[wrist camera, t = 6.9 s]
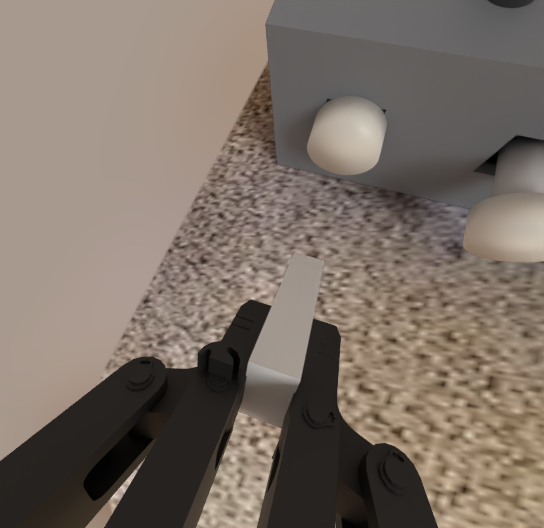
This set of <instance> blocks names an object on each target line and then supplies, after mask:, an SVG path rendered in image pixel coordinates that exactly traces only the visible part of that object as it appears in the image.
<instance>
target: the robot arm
mask: <svg viewBox="0 0 544 528" xmlns="http://www.w3.org/2000/svg"><path fill="white" fill-rule="evenodd" d="M324 262H325V261H324V260H320V259H317V258H313V257H310V256H306V255H303V254H299V253H296V252H294V255H293V257H292V259H291V262H290V264H289V267H288V269H287V271H286V274H285V276H284V278H283V281H282V283H281V285H280V288H279V290H278V293H277V295H276V297H275V300H274V302H273V304H272V306H269V305H266V304H263V303H260V302H257V301H254V300H249V301H248V302H246V303H245V304H243V305H242V306H241V307H240V309H239V311H238V312H237V314H236V317H235V318H234V319H233V321H232V323H231V325H230V326H229V328H228V330H227V332H226V333H225V335H224V337H223V339H222V340H221V341H218V342H212V343H210V344H208V345H206V346H204V347H203V348H202V349H201V350H200V351H199V352H198V367H194V368H189V369H175V368H165V365H164V364H163V363H162V362H161V360H159V359H156V358H154V357H140V358H136V359H133V360H131V361H129V362H128V363H126V364H124V365H123V366H122V367H120V368H119V369H118V370H117V371H115V372H114V373H113V374H111V375H110V376H109V377H108V378H106V379H105V380H104V381H102V382H101V383H100V384H99V385H97V386H96V387H95V388H93V389H92V390H91V391H90V392H88V393H87V394H86V395H84V396H83V397H82V398H81V399H79V400H78V401H77V402H75V403H74V404H73V405H72V406H70V407H69V408H68V409H66V410H65V411H64V412H63V413H61V414H60V415H59V416H58V417H56V418H55V419H54V420H52V421H51V422H50V423H49V424H47V425H46V426H45V427H43V428H42V429H41V430H40V431H38V432H37V433H36V434H34V435H33V436H32V437H31V438H29V439H28V440H27V441H26V442H24V443H23V444H22V445H21V446H19V447H18V448H16V449H15V450H14V451H13V452H11V453H10V454H9V455H7V456H6V457H5V458H4V459H2V460H1V461H0V528H85V527H86V526H87V525H88V523H89V522H90V521H91V520H92V519H93V518H94V516H95V515H96V514H97V513H98V512H99V510H101V508H102V507H103V506H104V505H105V504H106V503H107V501H108V500H109V499H110V498H111V497H112V496H113V495H114V493H115V492H116V491H117V490H118V489H119V488H120V486H121V485H122V484H123V483H124V482H125V481H126V479H127V478H128V477H129V476H130V475H131V474H132V473H133V471H134V470H135V469H136V468H137V467H138V466H139V464H140V463H141V462H142V461H143V460H144V459H145V460H144V462H143V463H142V465H141V467H140V468H139V470H138V472H137V474H136V475H135V477H134V479H133V480H132V482H131V484H130V485H129V487H128V489H127V490H126V492H125V494H124V495H123V497H122V499H121V500H120V502H119V504H118V505H117V507H116V509H115V510H114V512H113V514H112V515H111V517H110V519H109V521H108V522H107V524H106V526H105V527H104V528H196V526H197V523H198V521H199V518H200V515H201V513H202V510H203V507H204V505H205V502H206V499H207V497H208V494H209V492H210V489H211V486H212V484H213V481H214V478H215V476H216V473H217V470H218V468H219V465H220V462H221V460H222V457H223V455H224V452H225V449H226V447H227V444H228V441H229V439H230V436H231V433H232V431H233V425H234V421H235V419H236V416H237V414H238V411H239V412H241V413H244V414H246V415H249V416H251V417H254V418H257V419H259V420H262V421H264V422H267V423H269V424H272V425H275V426H277V427H280V428H282V430H281V434H280V438H279V442H278V444H277V447H276V449H275V452H274V454H273V456H272V459H273V462H272V467H271V471H270V475H269V479H268V483H267V488H266V492H265V496H264V500H263V504H262V509H261V513H260V517H259V521H258V525H257V528H335V523H336V528H438V526H437V523H436V521H435V518H434V515H433V512H432V509H431V506H430V504H429V501H428V498H427V495H426V492H425V490H424V487H423V484H422V481H421V478H420V476H419V474H418V472H417V470H416V468H415V466H414V464H413V463H412V462H411V461H410V459H409V458H408V457H407V456H406V455H405V454H404V453H403V452H402V451H400V450H399V449H398V448H396V447H395V446H392V445H389V444H386V443H380V444H375V445H372V444H371V443H370V442H368V441H367V440H366V439H364V438H363V437H362V436H360V435H359V434H358V433H356V432H355V431H354V430H353V429H352V428H351V427H349V426H348V424H347V423H346V422H345V420H344V419H343V417H342V416H341V414H340V412H339V408H338V405H337V388H338V373H339V358H340V343H341V337H340V334H339V332H338V329H337V327H336V326H334V325H331V324H328V323H325V322H322V321H319V320H316V319H313V317H314V312H315V307H316V302H317V297H318V292H319V287H320V282H321V277H322V272H323V267H324ZM146 456H147V457H146Z"/></svg>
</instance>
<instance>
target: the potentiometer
mask: <svg viewBox="0 0 544 528" xmlns="http://www.w3.org/2000/svg"><path fill="white" fill-rule="evenodd" d="M487 1H489V2H490V3H492V4H494V5H497V6H500V7H504V8H519V7H523V6H526V5H529V4H530V3H532V2H533V1H535V0H487Z"/></svg>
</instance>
